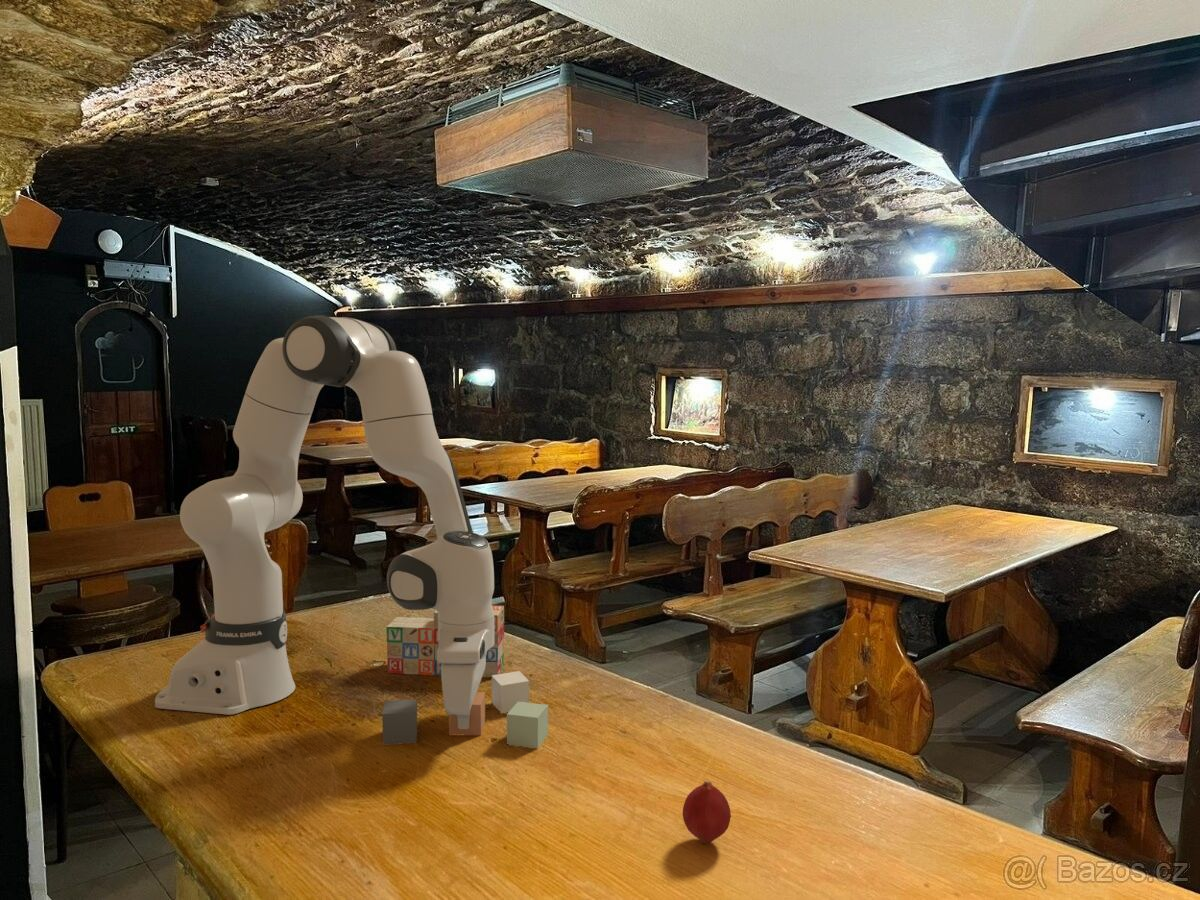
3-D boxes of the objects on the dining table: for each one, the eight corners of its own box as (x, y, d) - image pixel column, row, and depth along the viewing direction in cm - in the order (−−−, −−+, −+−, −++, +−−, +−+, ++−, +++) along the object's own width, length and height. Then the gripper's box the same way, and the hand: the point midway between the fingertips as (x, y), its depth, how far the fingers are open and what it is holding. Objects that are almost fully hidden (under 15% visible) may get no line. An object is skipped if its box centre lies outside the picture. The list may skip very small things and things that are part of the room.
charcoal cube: (382, 745, 128) (382, 714, 127) (385, 731, 133) (384, 701, 132) (416, 743, 129) (415, 711, 128) (417, 729, 134) (417, 699, 133)
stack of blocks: (386, 674, 157) (385, 610, 156) (397, 662, 164) (395, 601, 162) (498, 678, 156) (498, 614, 154) (505, 666, 162) (504, 604, 161)
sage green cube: (506, 745, 128) (506, 714, 128) (518, 731, 133) (518, 701, 133) (537, 749, 127) (537, 717, 127) (548, 735, 132) (548, 704, 131)
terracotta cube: (449, 735, 131) (448, 704, 131) (454, 721, 136) (454, 692, 136) (481, 735, 132) (480, 704, 131) (485, 721, 136) (484, 692, 136)
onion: (678, 830, 105) (679, 769, 104) (723, 828, 106) (725, 767, 105) (687, 857, 99) (688, 792, 98) (734, 854, 100) (736, 791, 99)
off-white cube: (501, 714, 140) (501, 685, 139) (491, 703, 144) (491, 675, 144) (529, 709, 142) (529, 680, 141) (519, 698, 146) (519, 671, 146)
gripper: (457, 615, 143) (458, 693, 144) (434, 656, 122) (435, 747, 124) (494, 615, 143) (494, 693, 144) (477, 656, 122) (478, 747, 124)
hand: (467, 718), depth 134 cm, fingers closed on terracotta cube, 5 cm apart
